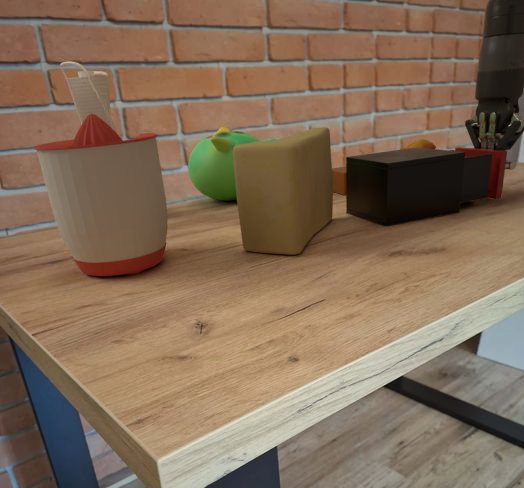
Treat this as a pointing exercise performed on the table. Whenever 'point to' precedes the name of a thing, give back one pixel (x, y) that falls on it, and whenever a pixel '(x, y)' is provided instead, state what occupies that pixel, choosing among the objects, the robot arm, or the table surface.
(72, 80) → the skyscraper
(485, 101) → the robot arm
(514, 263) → the table surface
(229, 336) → the table surface
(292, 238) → the cheese
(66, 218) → the citrus juicer
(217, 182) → the toy bird
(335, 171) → the brown block
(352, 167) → the cabinet
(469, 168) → the drawer
